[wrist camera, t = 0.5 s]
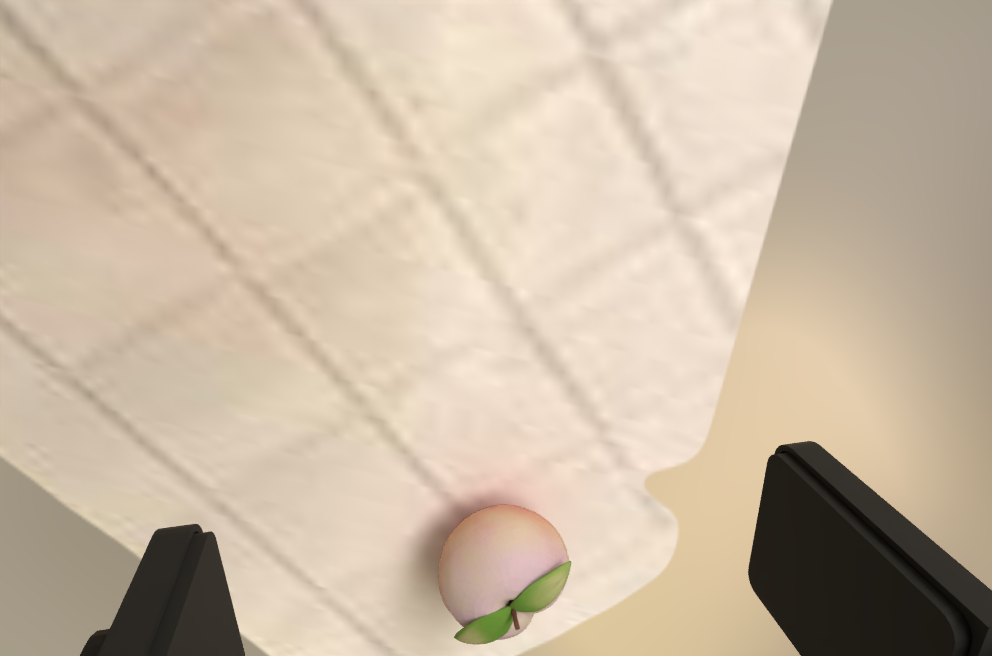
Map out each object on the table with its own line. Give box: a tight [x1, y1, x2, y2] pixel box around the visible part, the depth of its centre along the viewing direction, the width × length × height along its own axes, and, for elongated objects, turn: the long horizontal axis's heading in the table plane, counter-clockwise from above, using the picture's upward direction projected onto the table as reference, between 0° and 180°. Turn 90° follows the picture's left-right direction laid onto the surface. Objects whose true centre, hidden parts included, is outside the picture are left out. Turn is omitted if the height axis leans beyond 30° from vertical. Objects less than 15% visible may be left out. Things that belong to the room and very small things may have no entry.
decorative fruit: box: [438, 505, 571, 644], centre depth 44 cm, size 9×8×10 cm
